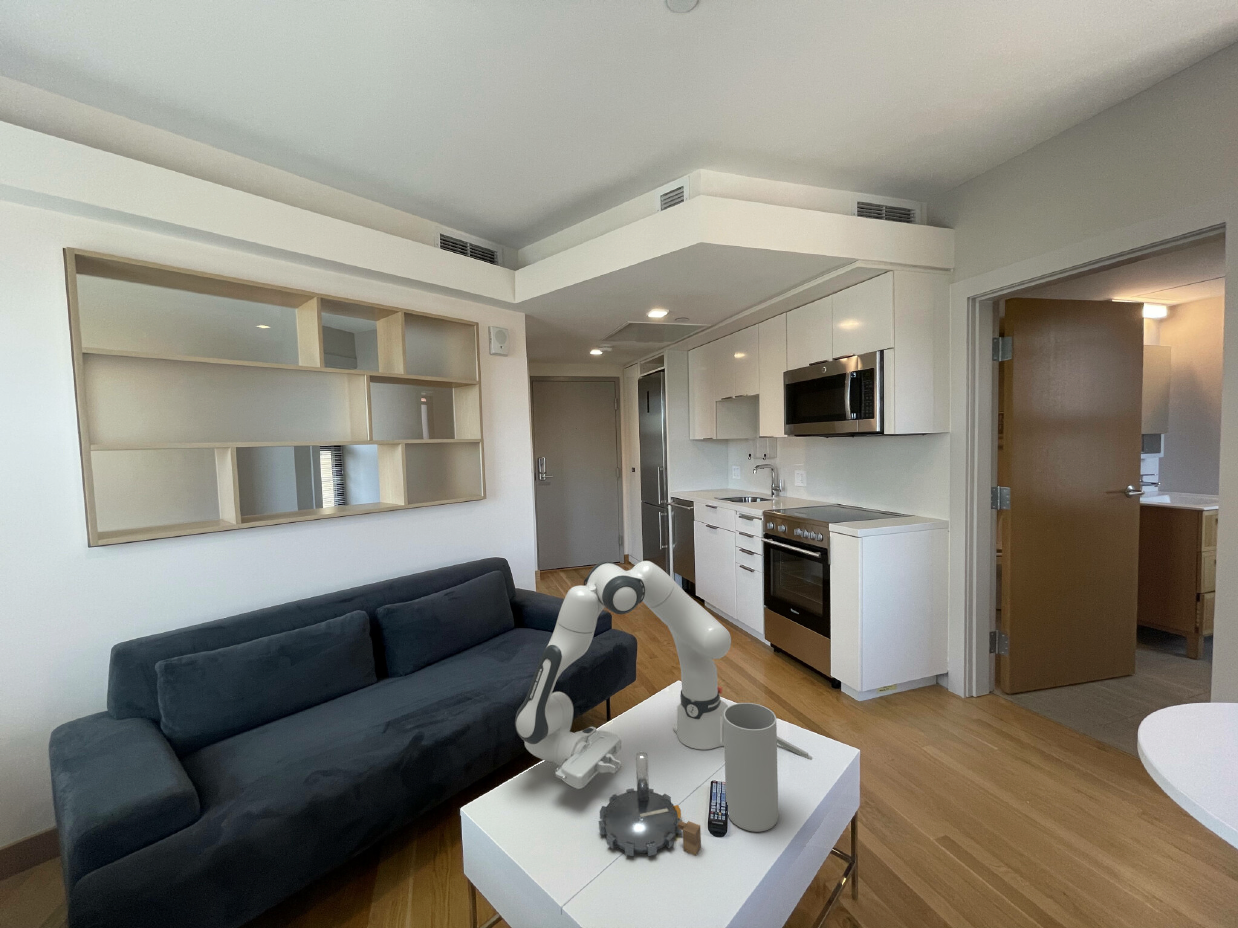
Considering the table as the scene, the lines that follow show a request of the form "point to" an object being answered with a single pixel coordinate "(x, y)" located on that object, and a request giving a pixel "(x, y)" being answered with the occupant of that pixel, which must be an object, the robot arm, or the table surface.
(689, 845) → the brown wooden block
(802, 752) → the caliper
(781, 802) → the table surface
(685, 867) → the table surface
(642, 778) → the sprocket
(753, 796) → the cylinder vase
